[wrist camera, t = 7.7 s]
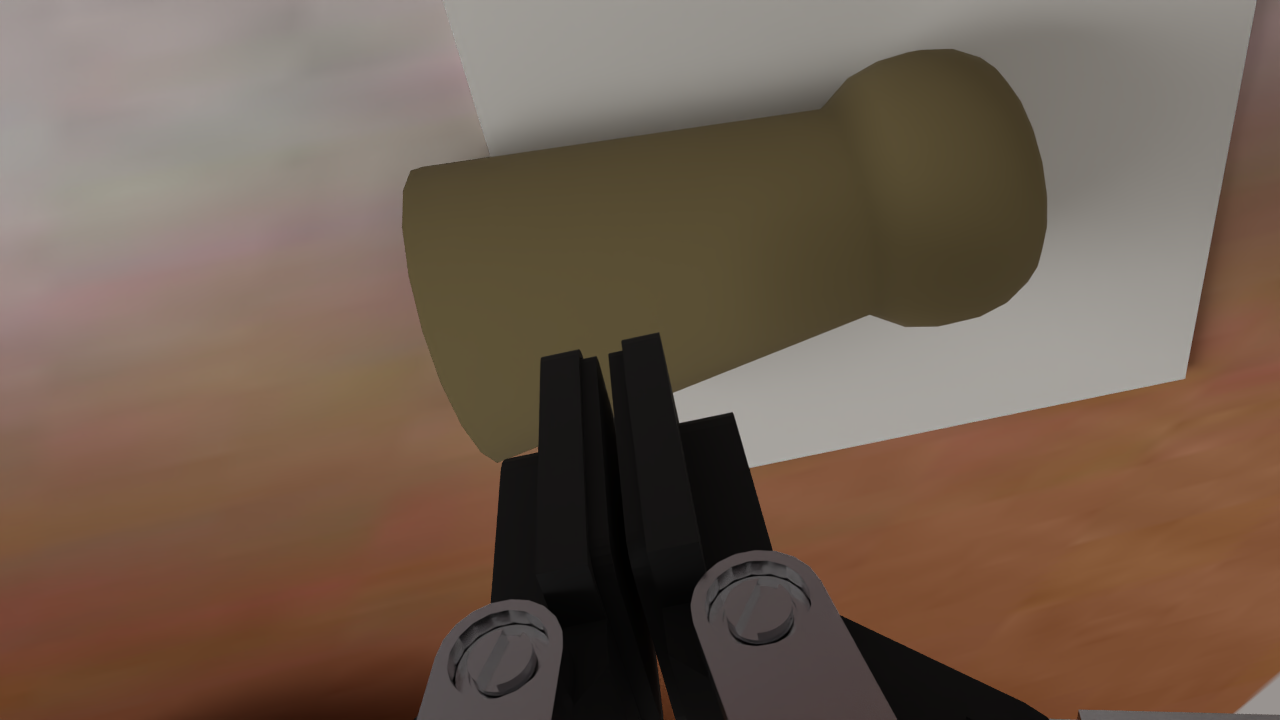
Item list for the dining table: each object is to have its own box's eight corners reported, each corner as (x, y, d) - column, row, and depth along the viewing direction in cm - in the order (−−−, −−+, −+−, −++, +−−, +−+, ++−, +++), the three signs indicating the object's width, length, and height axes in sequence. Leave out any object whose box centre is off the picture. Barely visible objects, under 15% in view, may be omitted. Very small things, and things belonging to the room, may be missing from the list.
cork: (499, 524, 16) (1103, 375, 15) (370, 216, 14) (1087, 13, 13) (527, 377, 22) (973, 261, 21) (438, 138, 19) (942, -8, 18)
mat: (412, -113, 16) (408, -110, 16) (1297, -322, 15) (1318, -325, 15) (594, 487, 24) (595, 499, 24) (1173, 368, 24) (1185, 378, 23)
